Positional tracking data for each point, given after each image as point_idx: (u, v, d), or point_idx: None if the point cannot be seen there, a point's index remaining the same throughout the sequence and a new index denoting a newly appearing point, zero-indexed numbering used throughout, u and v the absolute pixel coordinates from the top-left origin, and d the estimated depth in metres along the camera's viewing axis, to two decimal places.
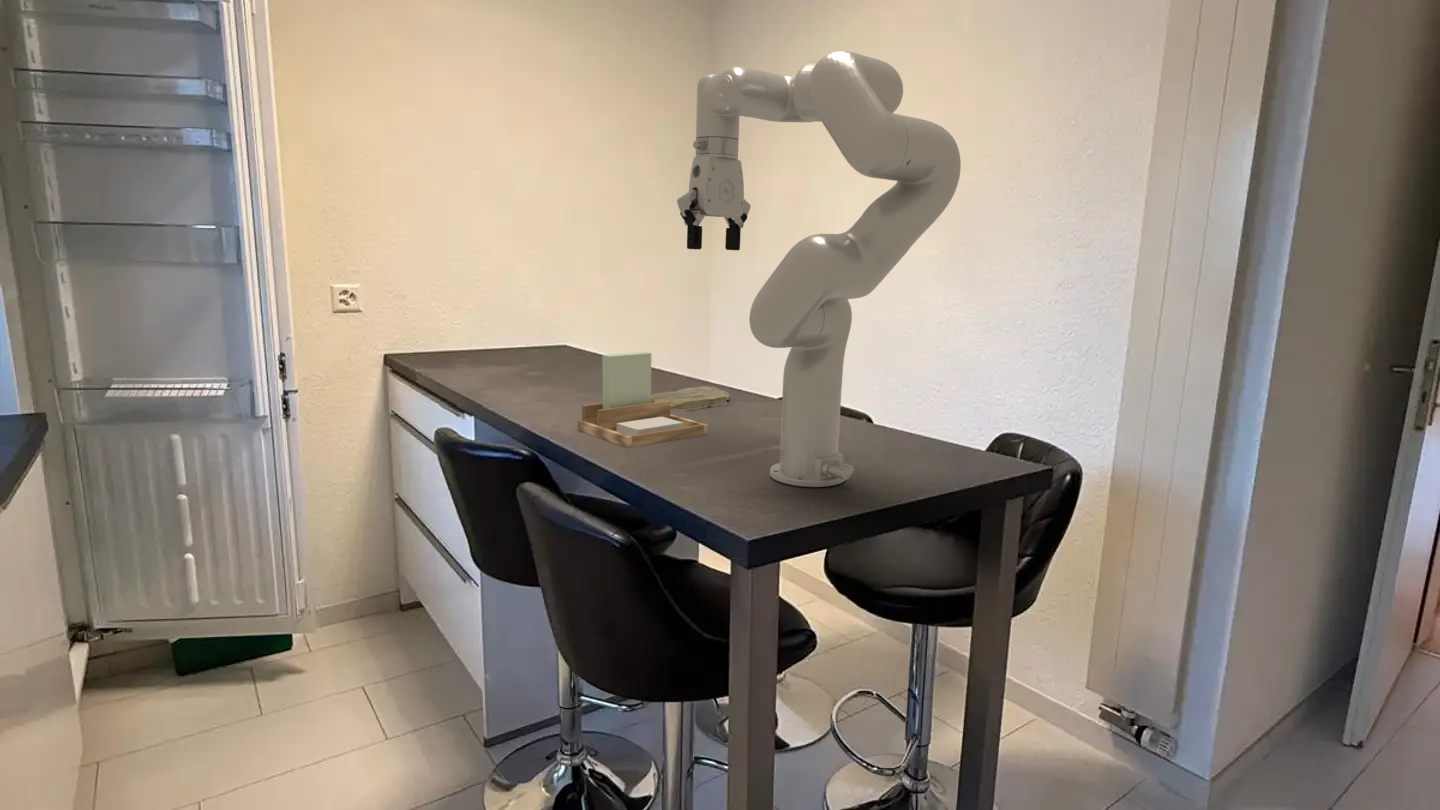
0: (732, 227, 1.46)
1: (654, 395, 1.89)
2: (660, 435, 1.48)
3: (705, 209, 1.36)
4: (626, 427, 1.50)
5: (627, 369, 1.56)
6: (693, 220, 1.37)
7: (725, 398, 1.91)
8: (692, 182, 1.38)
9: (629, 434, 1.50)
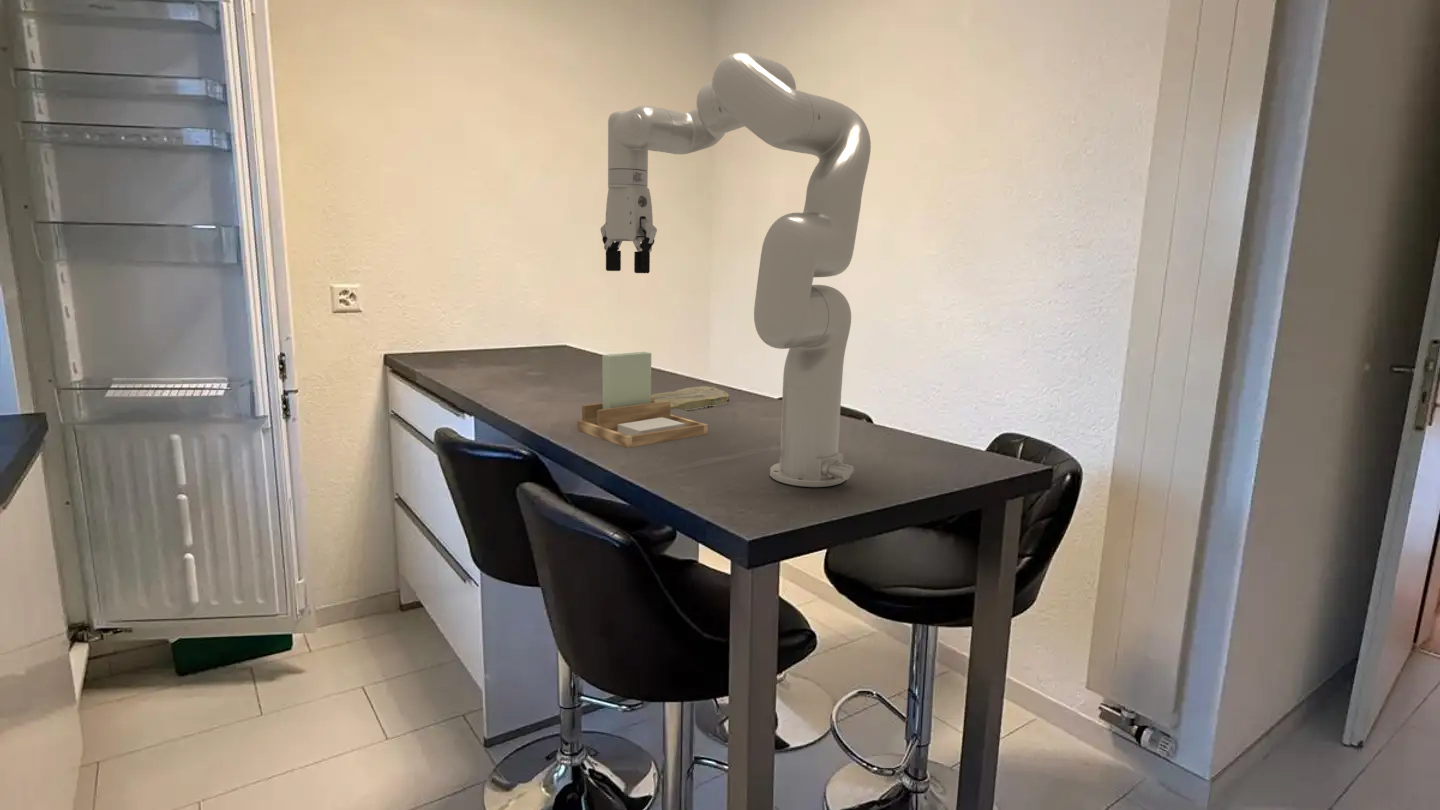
0: (612, 250, 1.57)
1: (654, 395, 1.89)
2: (660, 435, 1.48)
3: None
4: (627, 428, 1.50)
5: (627, 369, 1.56)
6: None
7: (725, 398, 1.91)
8: (638, 211, 1.48)
9: (630, 435, 1.50)
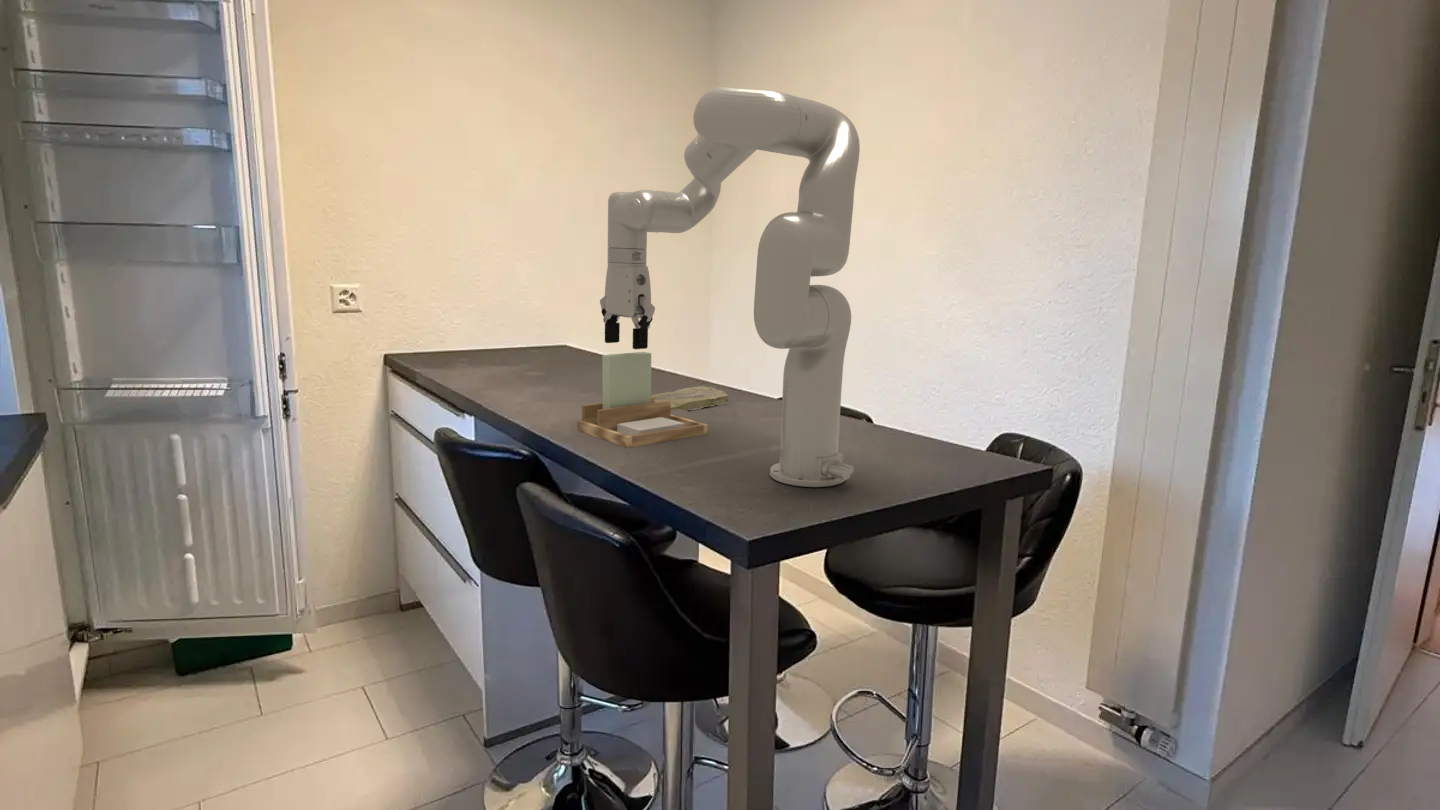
0: (611, 323, 1.60)
1: (654, 396, 1.88)
2: (660, 435, 1.48)
3: None
4: (627, 428, 1.50)
5: (627, 369, 1.56)
6: None
7: (725, 398, 1.91)
8: (637, 289, 1.51)
9: (630, 435, 1.50)
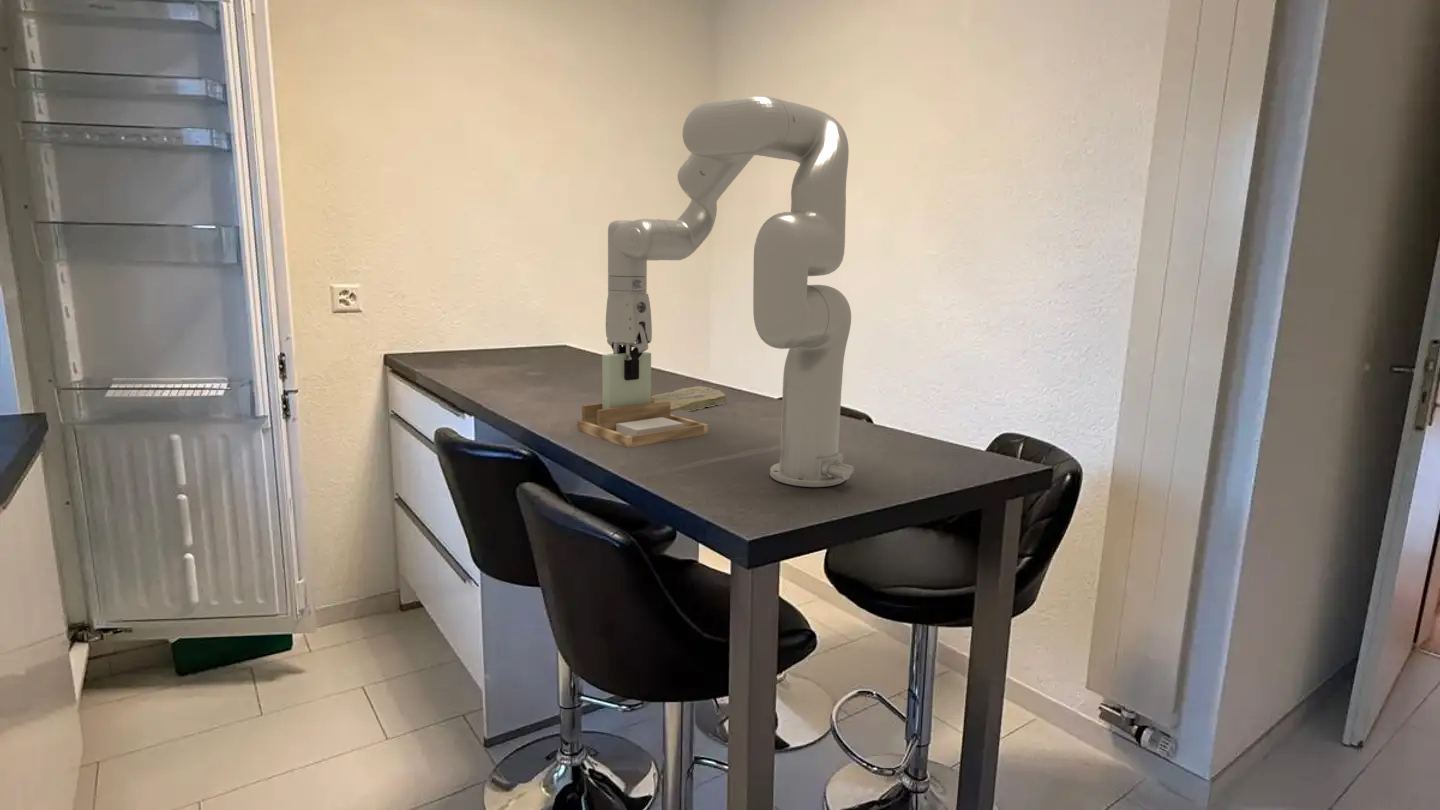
0: None
1: (655, 396, 1.87)
2: (660, 435, 1.48)
3: (651, 339, 1.55)
4: (625, 427, 1.50)
5: None
6: None
7: (724, 397, 1.92)
8: (638, 317, 1.52)
9: (628, 434, 1.50)
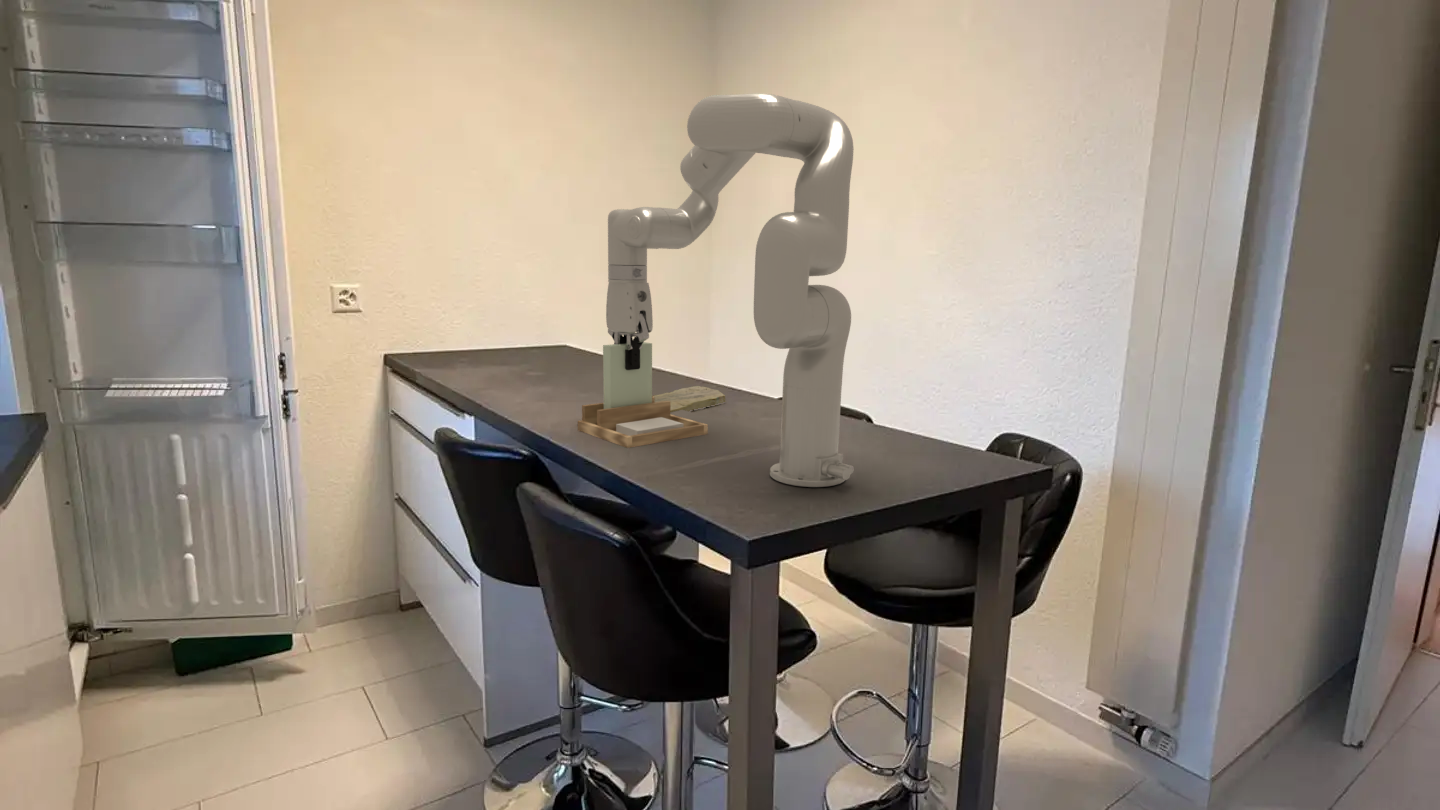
0: None
1: (655, 397, 1.87)
2: (660, 435, 1.48)
3: None
4: (626, 428, 1.50)
5: None
6: None
7: (724, 397, 1.92)
8: (638, 306, 1.51)
9: (629, 435, 1.50)
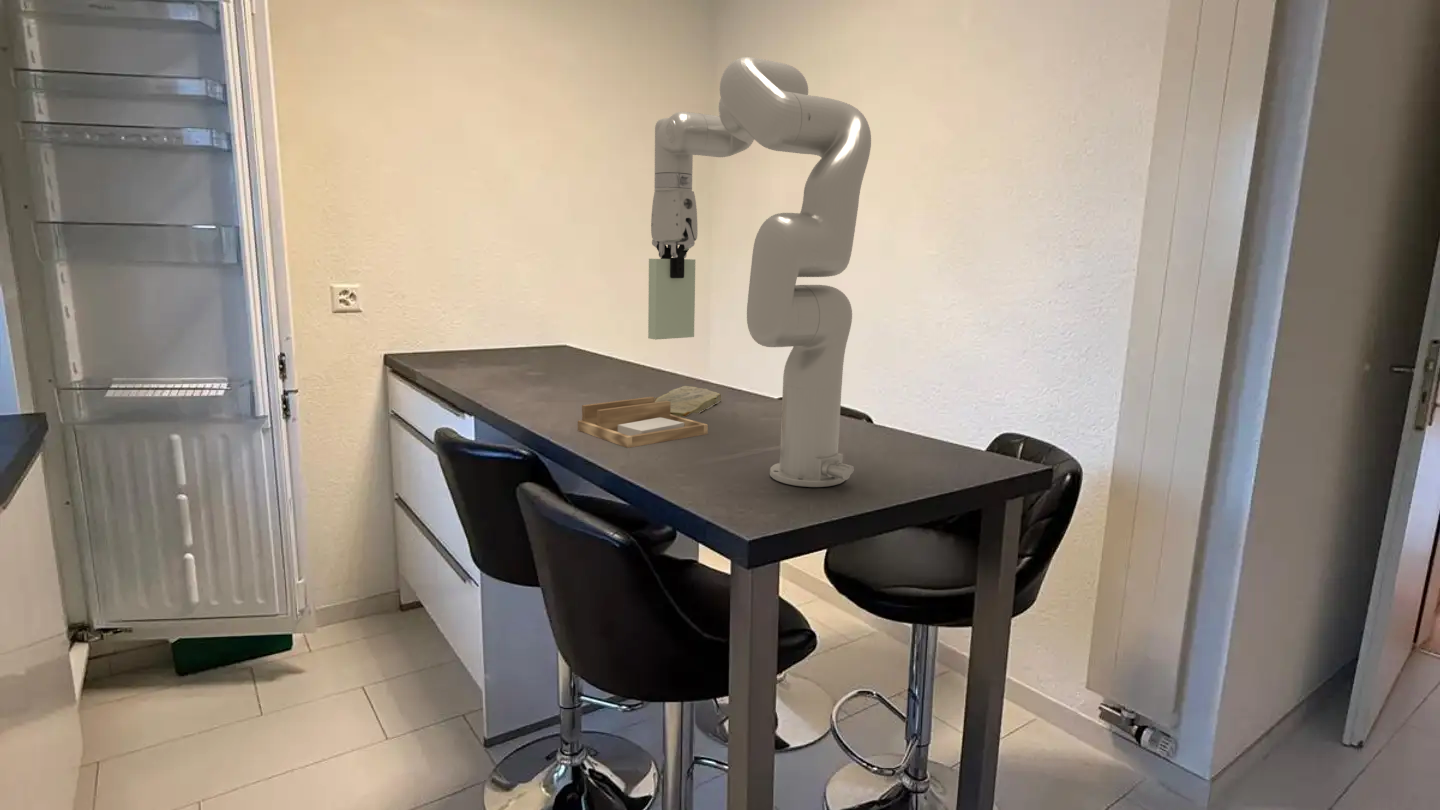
0: (667, 257, 1.62)
1: (660, 399, 1.84)
2: (660, 435, 1.48)
3: None
4: (628, 428, 1.50)
5: None
6: None
7: (720, 395, 1.94)
8: (684, 213, 1.55)
9: None
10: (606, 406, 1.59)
